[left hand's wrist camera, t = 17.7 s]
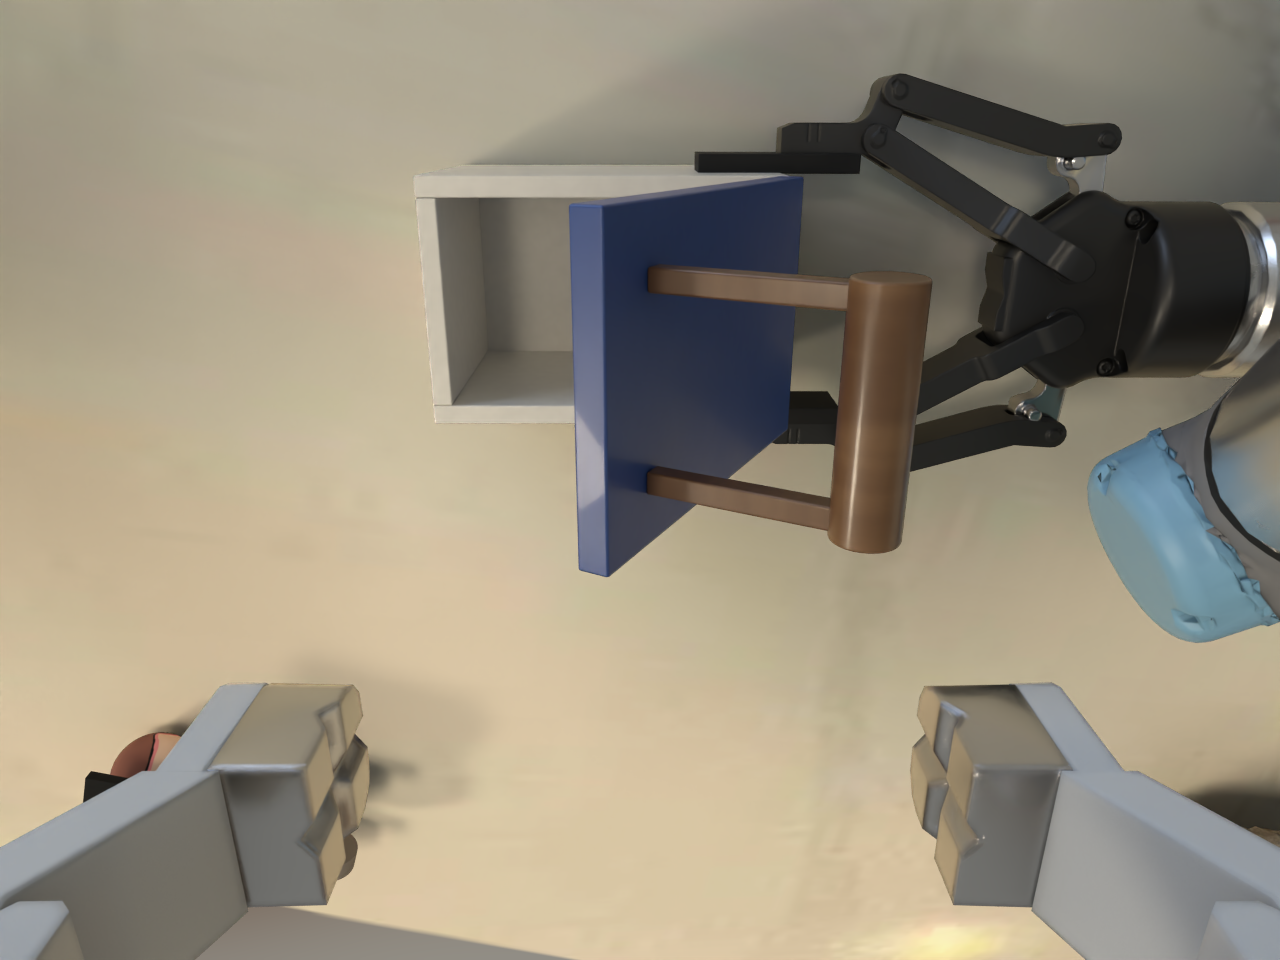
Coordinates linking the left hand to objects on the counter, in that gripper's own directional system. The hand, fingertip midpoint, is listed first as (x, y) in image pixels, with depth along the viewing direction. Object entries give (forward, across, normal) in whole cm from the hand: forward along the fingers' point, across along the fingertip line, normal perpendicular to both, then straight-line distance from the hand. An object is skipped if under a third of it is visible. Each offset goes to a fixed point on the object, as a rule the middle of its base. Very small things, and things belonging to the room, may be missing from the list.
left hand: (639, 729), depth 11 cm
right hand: (+31, -2, 0) cm, 31 cm away
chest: (+38, +2, 0) cm, 38 cm away
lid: (+20, -2, 0) cm, 20 cm away
